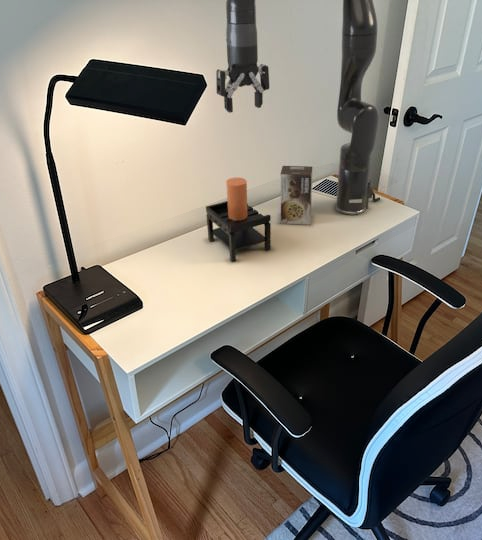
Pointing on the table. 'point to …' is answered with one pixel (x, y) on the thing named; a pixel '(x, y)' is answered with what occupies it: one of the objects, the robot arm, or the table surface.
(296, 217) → the coffee box
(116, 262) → the table surface
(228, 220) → the rack
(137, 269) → the table surface
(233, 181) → the orange-brown cylinder
